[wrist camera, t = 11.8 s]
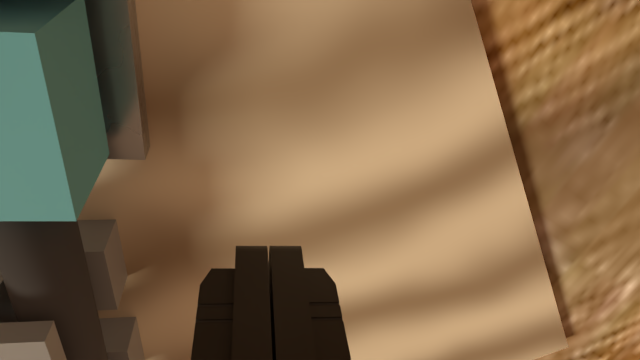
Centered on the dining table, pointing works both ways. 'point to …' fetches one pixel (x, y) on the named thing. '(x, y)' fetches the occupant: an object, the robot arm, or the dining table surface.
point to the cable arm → (49, 166)
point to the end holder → (119, 76)
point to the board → (331, 174)
